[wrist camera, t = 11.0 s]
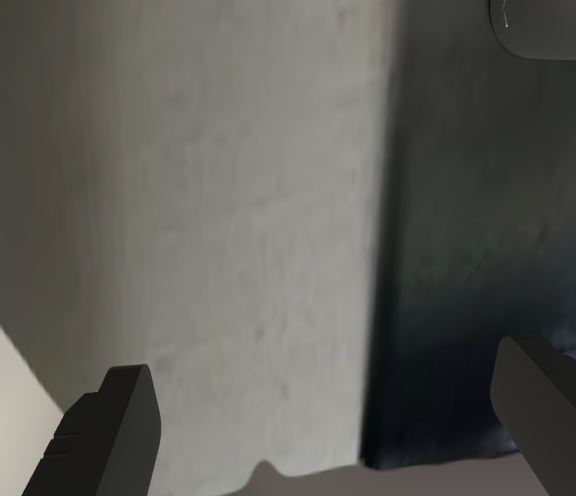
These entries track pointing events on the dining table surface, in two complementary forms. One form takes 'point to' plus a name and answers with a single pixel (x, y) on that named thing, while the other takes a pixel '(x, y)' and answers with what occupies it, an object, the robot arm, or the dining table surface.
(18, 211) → the dining table surface
